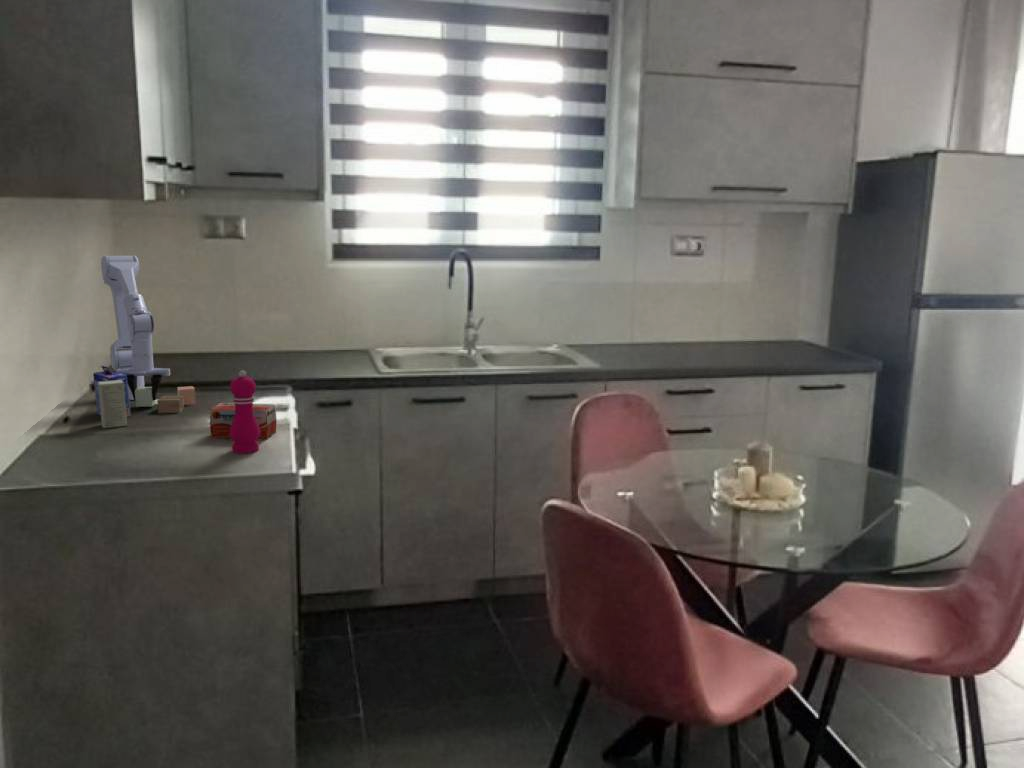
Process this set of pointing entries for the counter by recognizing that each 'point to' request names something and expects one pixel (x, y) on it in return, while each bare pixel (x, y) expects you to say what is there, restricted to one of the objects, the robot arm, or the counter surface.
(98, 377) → the ink cartridge box
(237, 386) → the pepper mill
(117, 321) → the robot arm
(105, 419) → the skincare box
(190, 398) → the clay block
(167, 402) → the base block
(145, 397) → the sage block
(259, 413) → the medicine box
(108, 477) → the counter surface
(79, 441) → the counter surface
